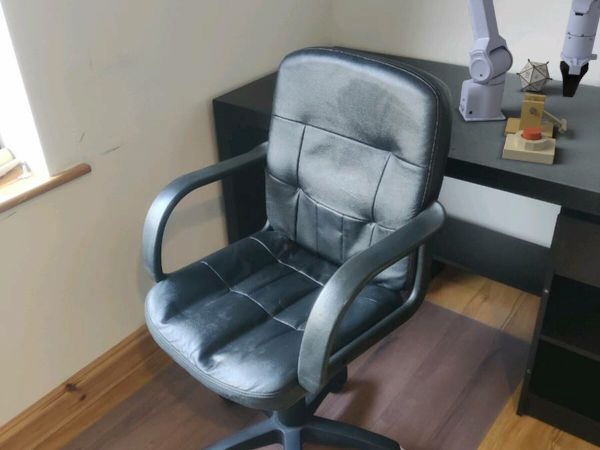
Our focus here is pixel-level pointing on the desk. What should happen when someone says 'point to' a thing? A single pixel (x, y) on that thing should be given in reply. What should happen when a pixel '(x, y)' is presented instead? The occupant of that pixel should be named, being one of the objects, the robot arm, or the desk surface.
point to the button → (531, 133)
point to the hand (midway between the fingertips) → (567, 96)
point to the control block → (529, 148)
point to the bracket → (530, 117)
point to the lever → (554, 119)
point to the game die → (534, 76)
